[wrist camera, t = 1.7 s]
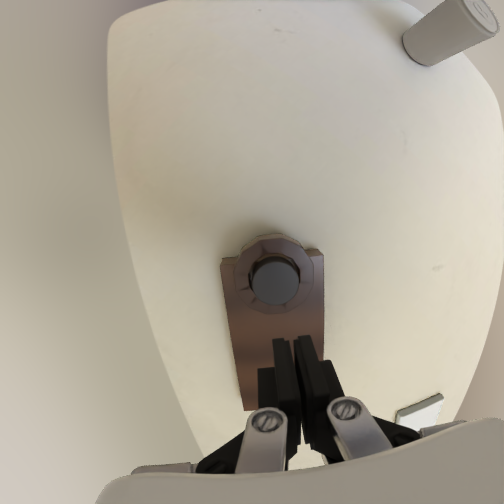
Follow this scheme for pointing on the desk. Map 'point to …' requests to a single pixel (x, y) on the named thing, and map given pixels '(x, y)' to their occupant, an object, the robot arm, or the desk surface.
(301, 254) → the switch box
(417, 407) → the hard drive
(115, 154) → the desk surface
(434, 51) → the beverage can
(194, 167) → the desk surface
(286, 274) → the button
